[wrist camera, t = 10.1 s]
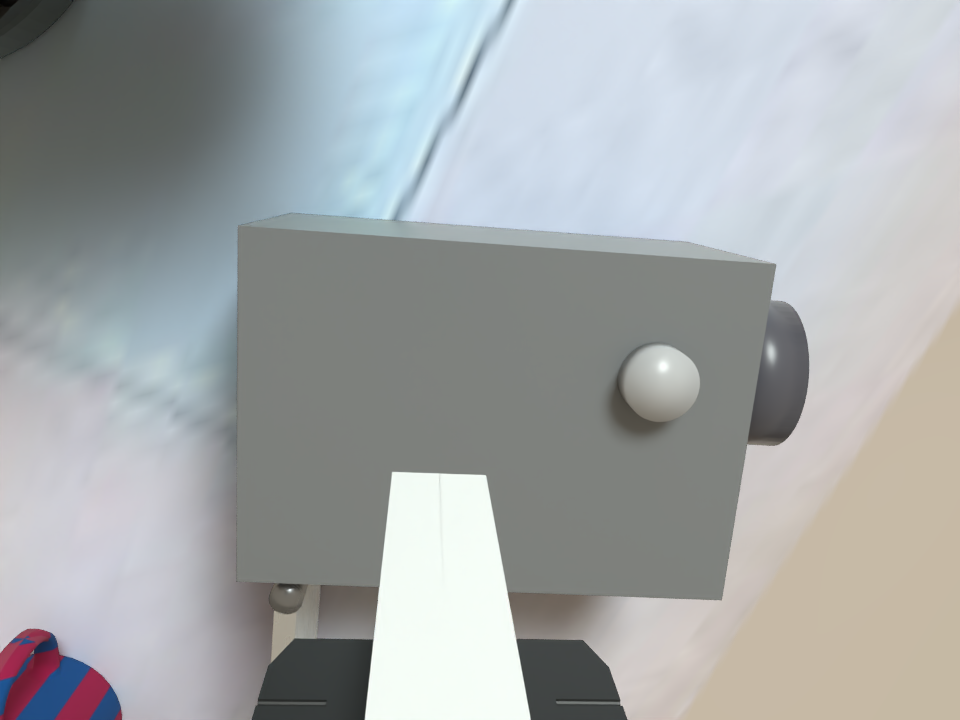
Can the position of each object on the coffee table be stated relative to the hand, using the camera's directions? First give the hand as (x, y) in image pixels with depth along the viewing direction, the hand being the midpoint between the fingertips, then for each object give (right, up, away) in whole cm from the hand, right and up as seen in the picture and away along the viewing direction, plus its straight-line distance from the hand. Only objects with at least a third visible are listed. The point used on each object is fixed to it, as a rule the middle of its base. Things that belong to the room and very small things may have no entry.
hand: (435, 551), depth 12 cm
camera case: (+2, +3, +22) cm, 22 cm away
